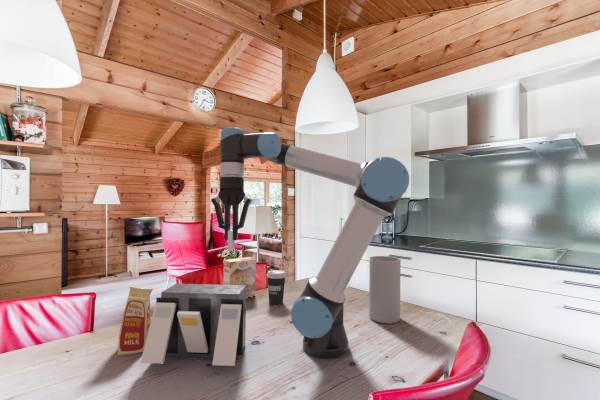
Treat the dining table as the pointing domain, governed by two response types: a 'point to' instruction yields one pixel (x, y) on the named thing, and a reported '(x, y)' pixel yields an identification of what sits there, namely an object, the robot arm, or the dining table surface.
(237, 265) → the coffeecake box
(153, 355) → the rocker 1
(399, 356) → the dining table surface
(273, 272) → the coffee cup
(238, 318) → the cream flat slab
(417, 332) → the dining table surface
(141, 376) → the dining table surface
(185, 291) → the card holder crate
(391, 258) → the cylinder vase
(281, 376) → the dining table surface
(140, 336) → the milk carton
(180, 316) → the cream flat slab
